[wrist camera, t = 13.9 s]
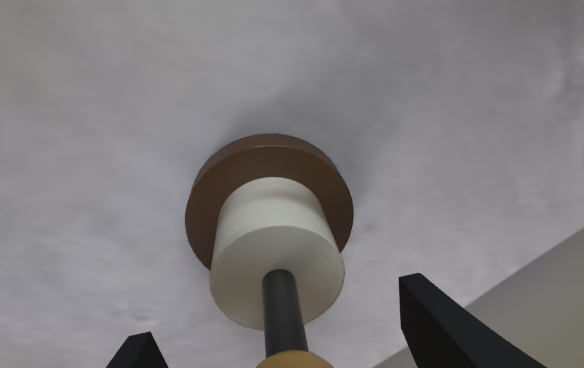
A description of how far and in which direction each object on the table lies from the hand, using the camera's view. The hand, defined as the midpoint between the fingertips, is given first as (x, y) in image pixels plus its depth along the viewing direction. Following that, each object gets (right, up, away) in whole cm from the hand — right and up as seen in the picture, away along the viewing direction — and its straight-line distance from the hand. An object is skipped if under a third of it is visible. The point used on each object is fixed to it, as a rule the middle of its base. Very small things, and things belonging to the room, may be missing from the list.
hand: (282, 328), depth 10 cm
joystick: (-1, +4, 0) cm, 4 cm away
